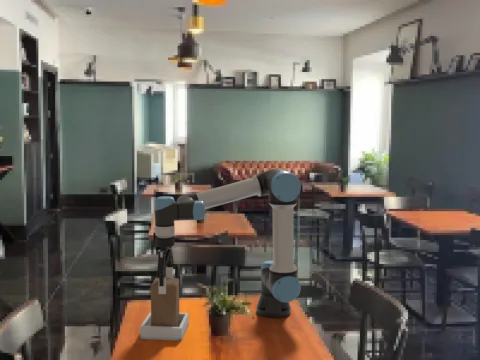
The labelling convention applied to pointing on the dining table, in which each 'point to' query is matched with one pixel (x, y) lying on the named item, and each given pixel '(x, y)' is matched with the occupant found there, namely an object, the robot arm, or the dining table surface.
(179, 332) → the tray
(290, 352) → the dining table surface
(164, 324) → the block
